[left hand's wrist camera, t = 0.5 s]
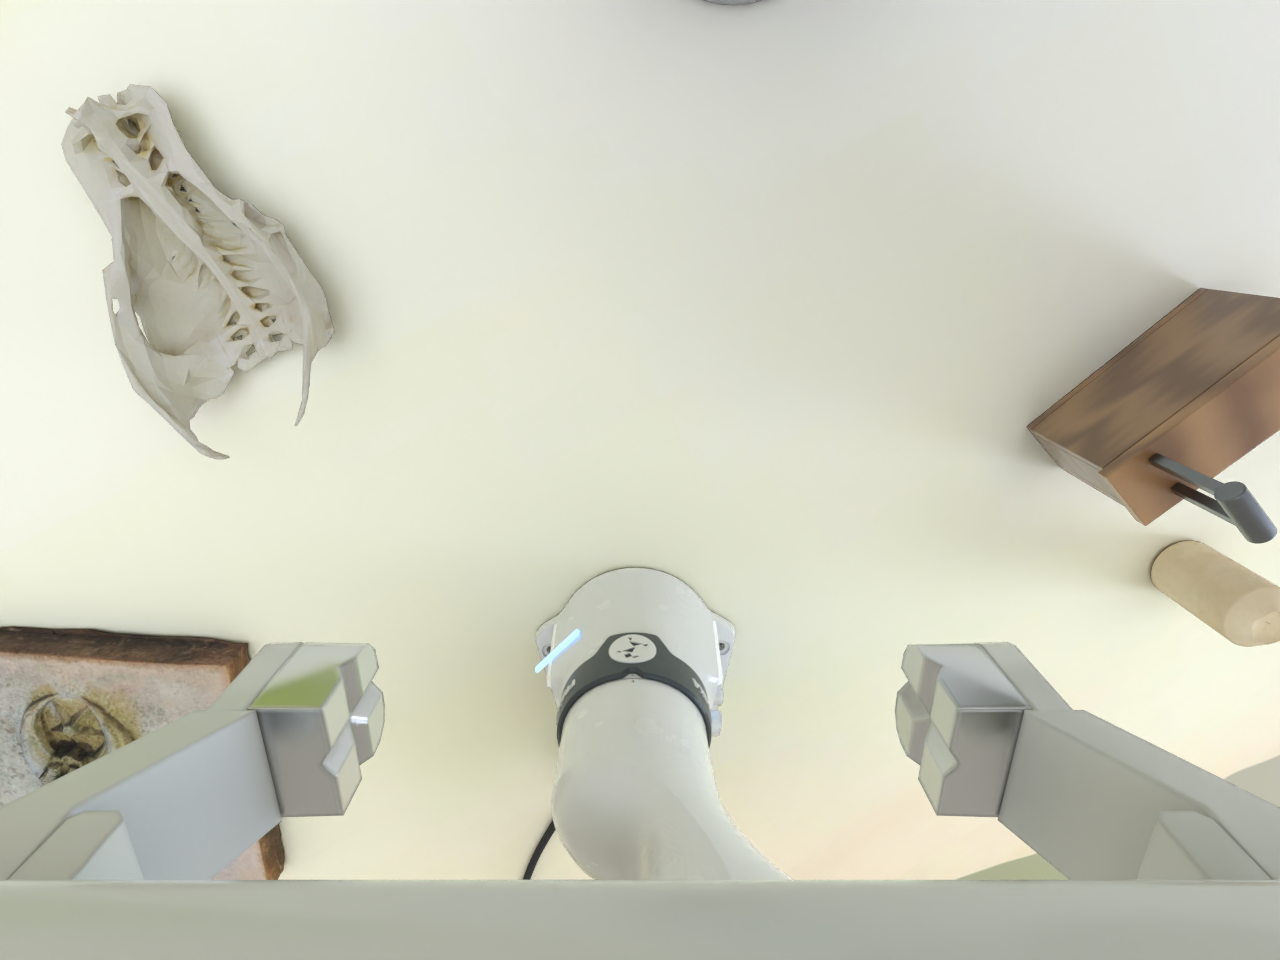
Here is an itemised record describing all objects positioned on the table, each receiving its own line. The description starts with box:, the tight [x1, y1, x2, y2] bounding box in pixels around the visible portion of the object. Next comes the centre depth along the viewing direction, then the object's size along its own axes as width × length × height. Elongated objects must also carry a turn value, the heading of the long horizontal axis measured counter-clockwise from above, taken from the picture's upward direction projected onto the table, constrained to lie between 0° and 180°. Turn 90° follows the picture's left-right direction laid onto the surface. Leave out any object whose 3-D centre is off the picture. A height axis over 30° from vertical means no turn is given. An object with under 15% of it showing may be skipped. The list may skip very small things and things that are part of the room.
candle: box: [1151, 541, 1280, 647], centre depth 58 cm, size 6×6×10 cm
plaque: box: [0, 627, 284, 880], centre depth 67 cm, size 30×7×30 cm
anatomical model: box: [62, 84, 335, 459], centre depth 49 cm, size 15×9×25 cm
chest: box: [1027, 288, 1280, 506], centre depth 52 cm, size 16×5×10 cm, turn 135°
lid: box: [1098, 336, 1280, 543], centre depth 43 cm, size 17×5×9 cm, turn 135°
